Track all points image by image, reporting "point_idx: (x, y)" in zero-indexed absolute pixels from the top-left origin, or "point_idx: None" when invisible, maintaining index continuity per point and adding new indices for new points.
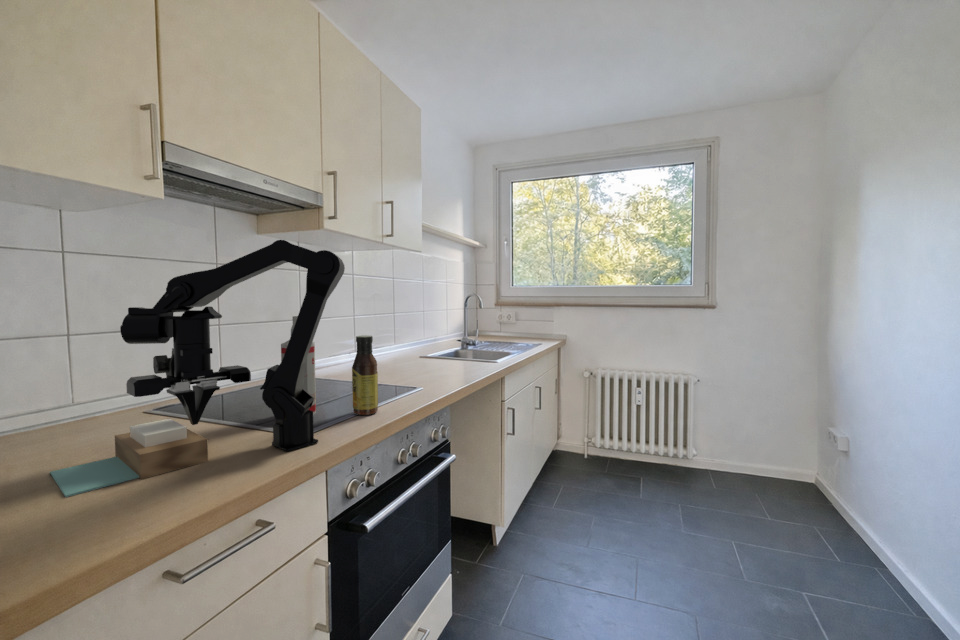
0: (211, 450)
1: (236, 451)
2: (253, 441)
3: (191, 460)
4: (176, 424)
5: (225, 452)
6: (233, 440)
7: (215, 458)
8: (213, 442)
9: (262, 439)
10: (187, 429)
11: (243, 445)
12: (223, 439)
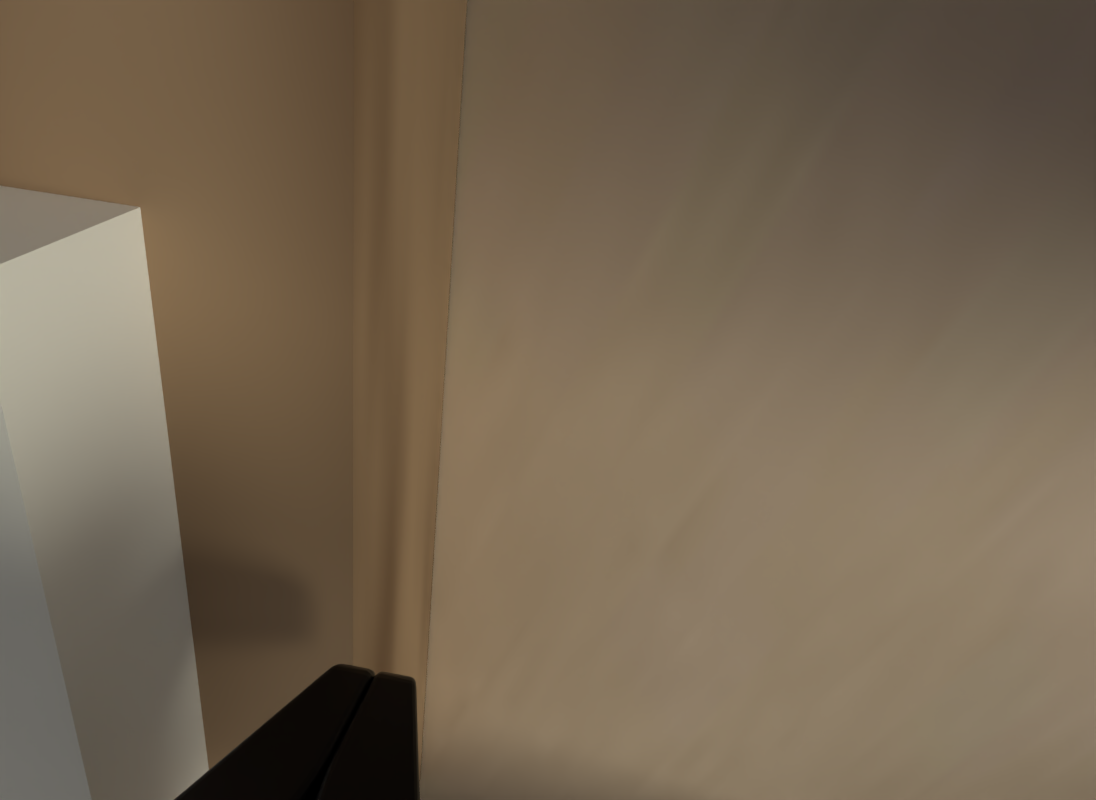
0: (579, 586)
1: (685, 787)
2: (990, 710)
3: None
4: (41, 788)
5: (618, 733)
6: (936, 498)
7: (487, 774)
8: (768, 349)
9: (1087, 737)
10: (342, 519)
11: (840, 721)
12: (920, 345)
